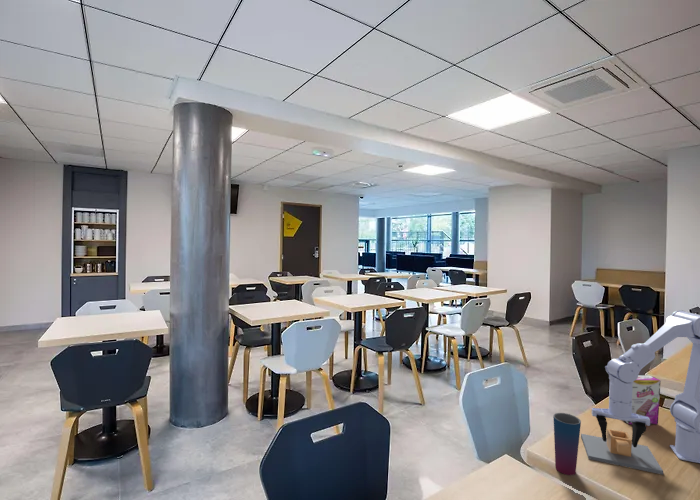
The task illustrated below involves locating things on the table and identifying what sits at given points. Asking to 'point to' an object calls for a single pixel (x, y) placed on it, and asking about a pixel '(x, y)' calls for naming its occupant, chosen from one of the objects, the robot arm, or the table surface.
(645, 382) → the candy bar box
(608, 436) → the tan square tube
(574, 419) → the cup
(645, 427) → the robot arm
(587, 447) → the duct board
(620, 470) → the table surface
